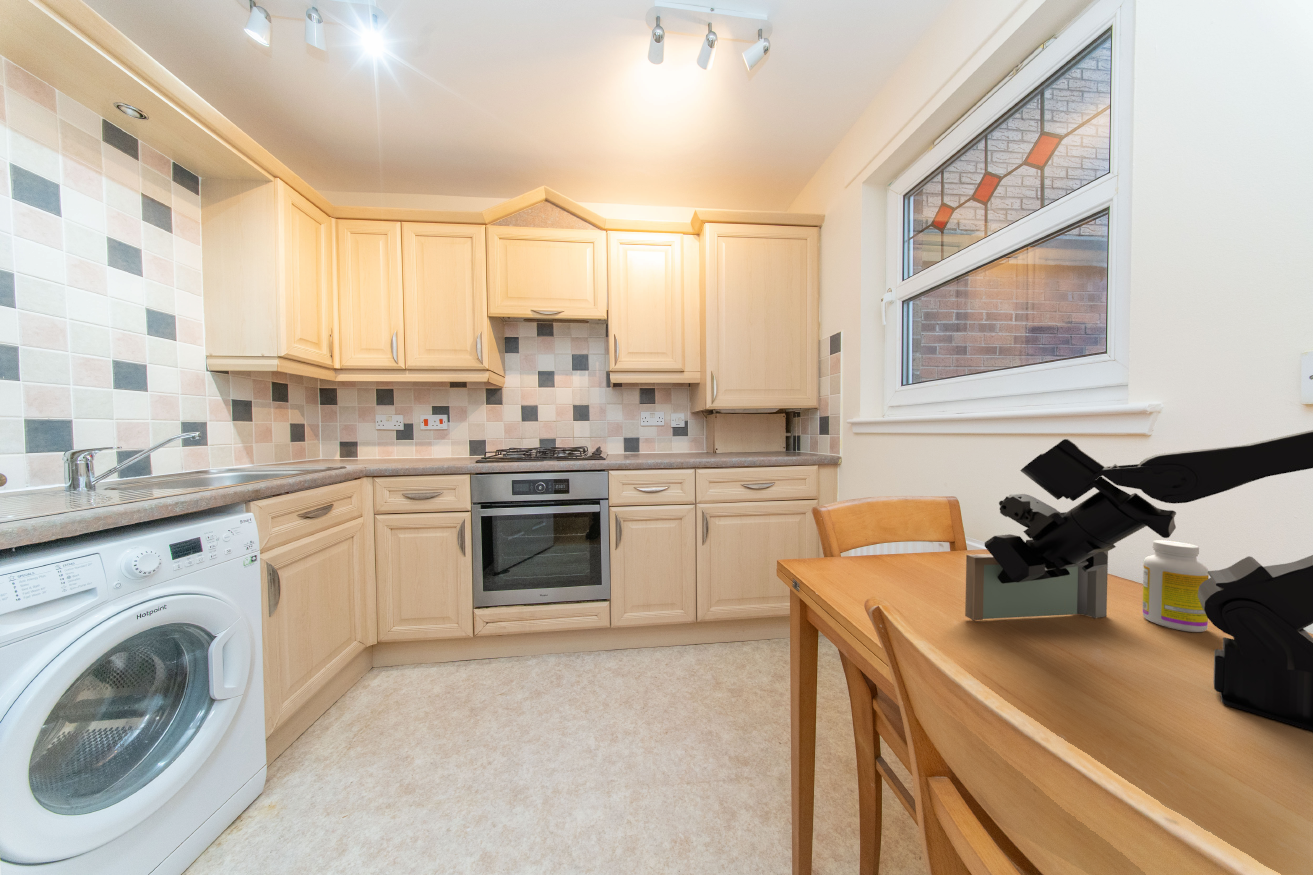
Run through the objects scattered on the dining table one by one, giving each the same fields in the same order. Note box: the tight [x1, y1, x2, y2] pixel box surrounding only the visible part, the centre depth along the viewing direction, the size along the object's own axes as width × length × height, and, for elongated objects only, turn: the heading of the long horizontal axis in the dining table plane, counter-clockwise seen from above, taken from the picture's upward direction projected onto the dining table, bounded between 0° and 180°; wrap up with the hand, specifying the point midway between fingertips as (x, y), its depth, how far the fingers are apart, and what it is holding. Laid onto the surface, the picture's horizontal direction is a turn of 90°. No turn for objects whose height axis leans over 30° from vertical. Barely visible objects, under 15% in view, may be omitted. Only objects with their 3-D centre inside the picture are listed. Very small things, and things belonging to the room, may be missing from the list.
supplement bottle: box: [1142, 539, 1210, 633], centre depth 68 cm, size 7×7×13 cm
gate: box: [964, 553, 1088, 621], centre depth 70 cm, size 21×2×10 cm, turn 97°
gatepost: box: [1085, 551, 1109, 619], centre depth 72 cm, size 3×3×12 cm
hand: (1001, 580), depth 68 cm, fingers closed
